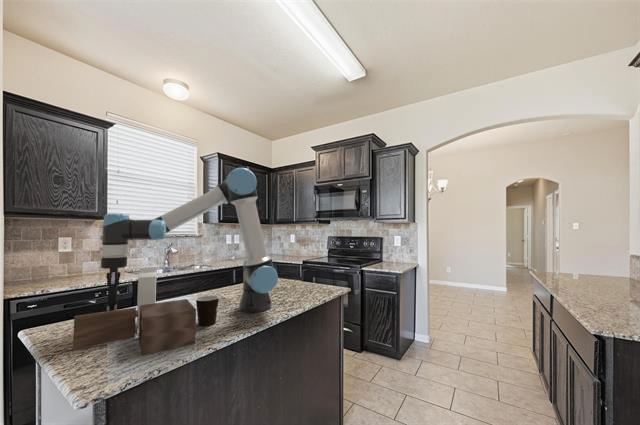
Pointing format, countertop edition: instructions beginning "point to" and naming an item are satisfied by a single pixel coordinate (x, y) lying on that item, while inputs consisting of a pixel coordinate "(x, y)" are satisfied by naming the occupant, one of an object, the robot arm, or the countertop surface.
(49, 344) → the countertop surface
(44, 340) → the countertop surface
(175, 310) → the cabinet
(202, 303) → the coffee mug
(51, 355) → the countertop surface
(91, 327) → the door
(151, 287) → the milk
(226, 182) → the robot arm
